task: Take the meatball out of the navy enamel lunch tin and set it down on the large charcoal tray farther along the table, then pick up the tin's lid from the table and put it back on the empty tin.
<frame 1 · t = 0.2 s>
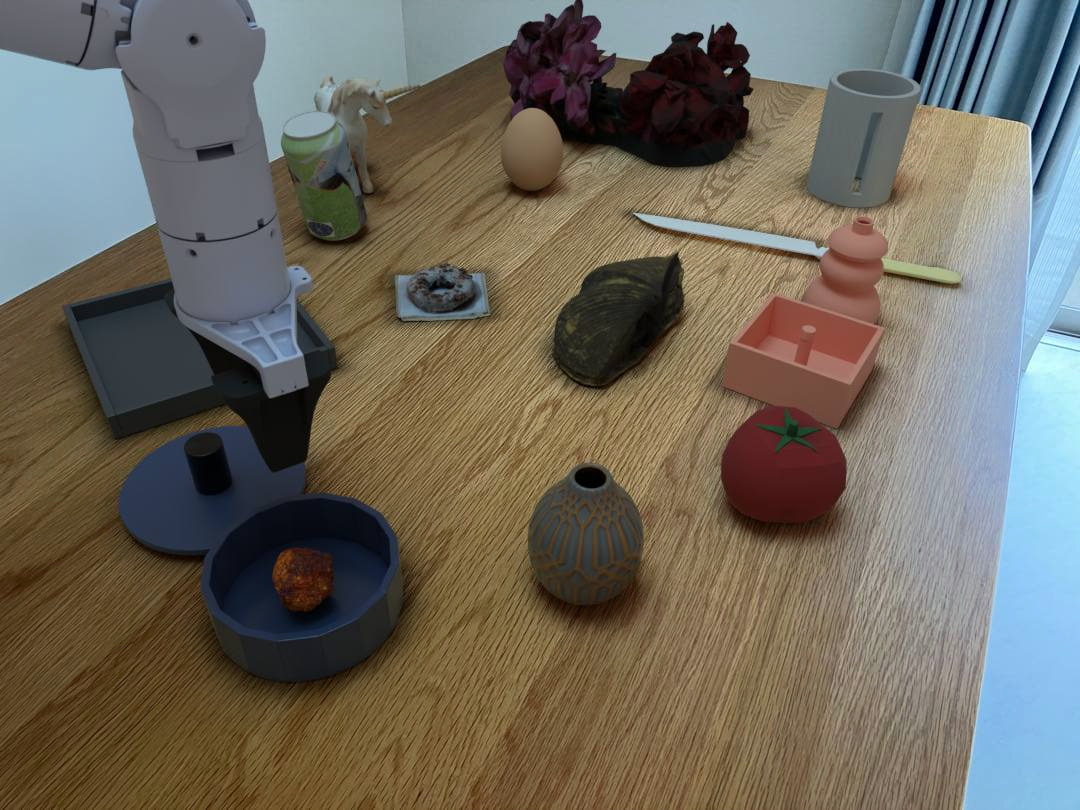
hand: (264, 425, 52), 9 cm above the table, tool pointing down, fingers open, 7 cm apart
unicorn figurine: (377, 183, 99), on the table
knife: (786, 249, 90), on the table
meatball: (310, 601, 53), resting on tin
tray: (200, 346, 74), on the table
seashell: (615, 335, 77), on the table
vase: (582, 580, 55), on the table
donut: (442, 297, 81), on the table
tomato: (769, 502, 61), on the table
tin: (310, 602, 53), on the table
egg: (531, 190, 99), on the table
beverage can: (333, 235, 90), on the table
tin lid: (215, 488, 60), point 1 cm above the table
cup: (847, 191, 101), on the table
pottery: (815, 354, 75), on the table
flower arrangement: (618, 135, 112), on the table
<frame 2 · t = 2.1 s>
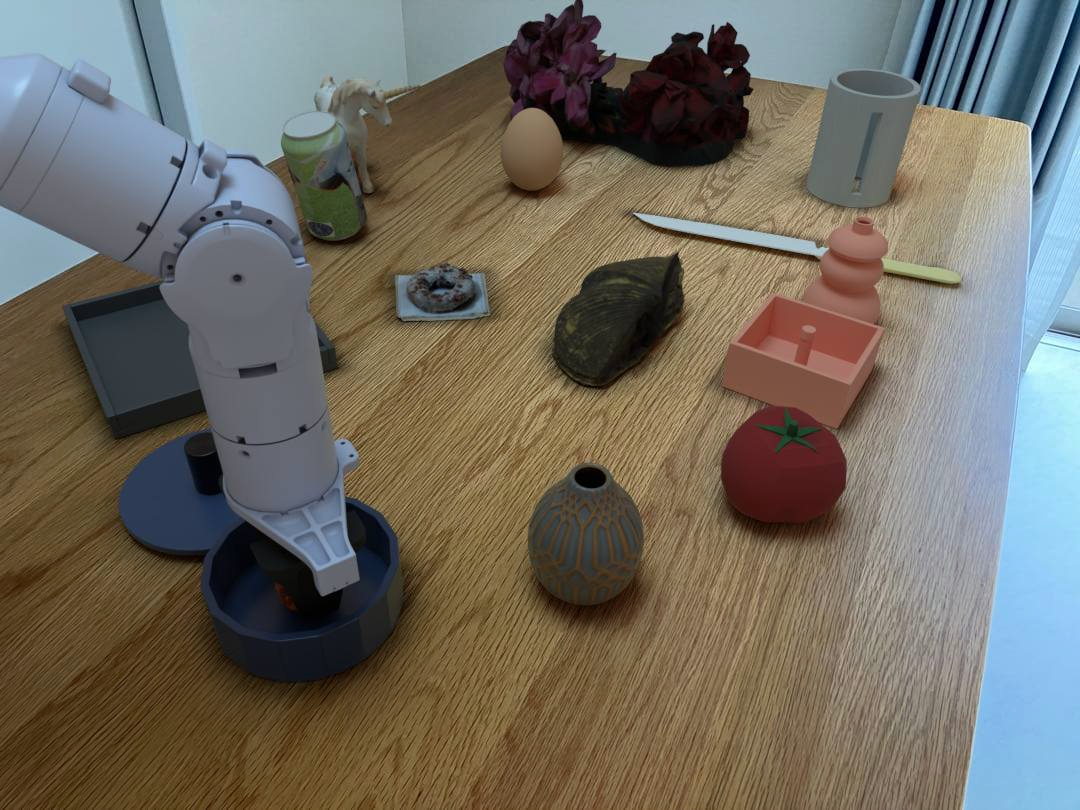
hand: (307, 587, 52), 1 cm above the table, tool pointing down, fingers closed on meatball, 4 cm apart
meatball: (310, 601, 53), resting on tin, touching gripper
everything else where it was.
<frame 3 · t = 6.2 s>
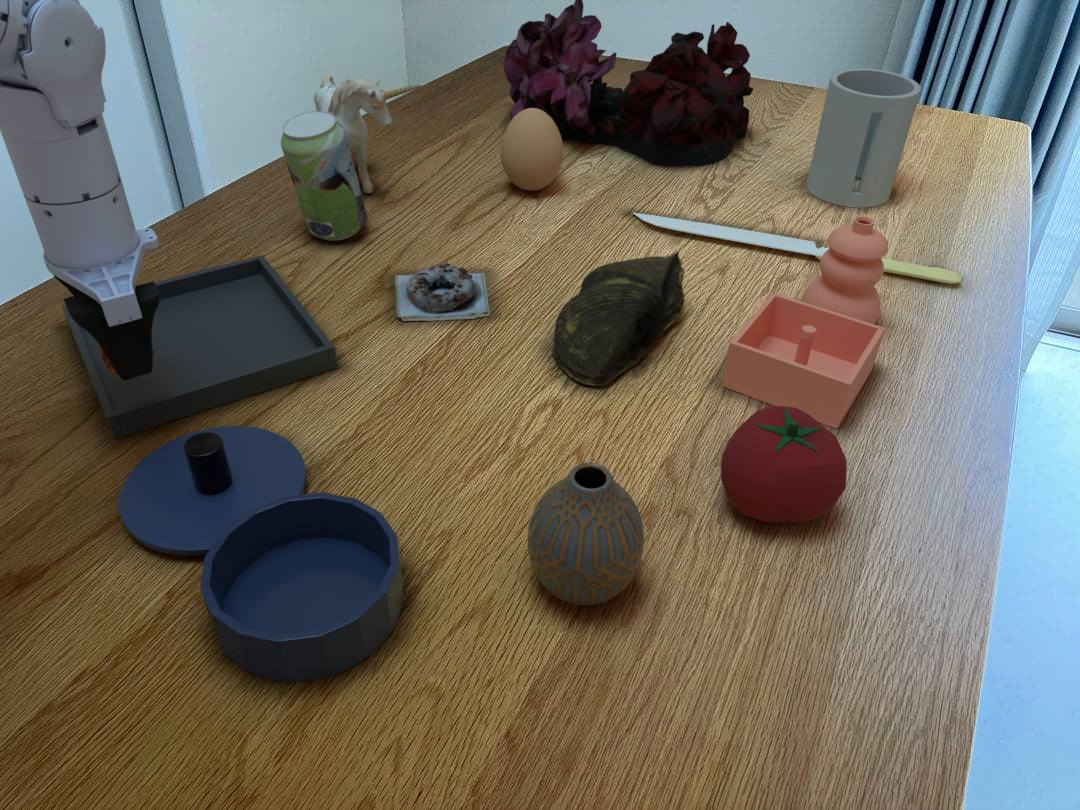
hand: (129, 359, 65), 4 cm above the table, tool pointing down, fingers closed on meatball, 4 cm apart
meatball: (135, 373, 66), point 3 cm above the table, touching gripper
everything else where it was.
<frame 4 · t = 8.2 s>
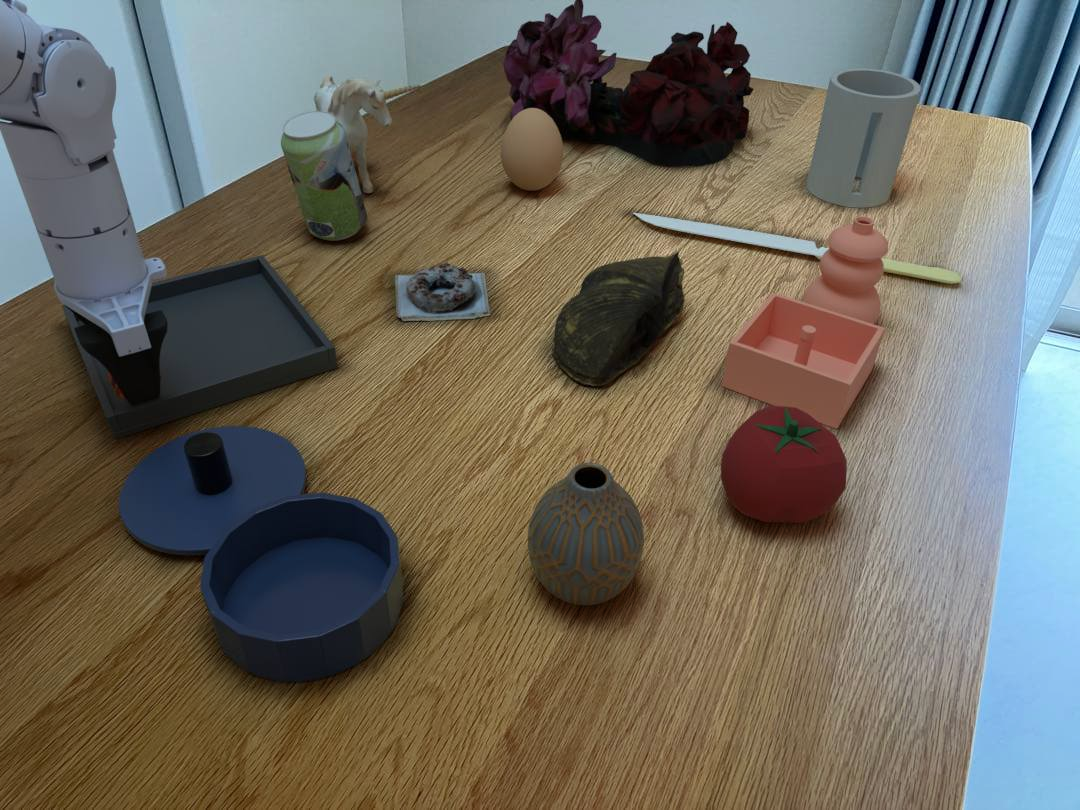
hand: (137, 384, 66), 2 cm above the table, tool pointing down, fingers closed on meatball, 4 cm apart
meatball: (143, 398, 67), point 1 cm above the table, touching gripper
everything else where it was.
when the fingers open (3 cm above the table, at t = 10.4 s): meatball stays where it is, resting on tray.
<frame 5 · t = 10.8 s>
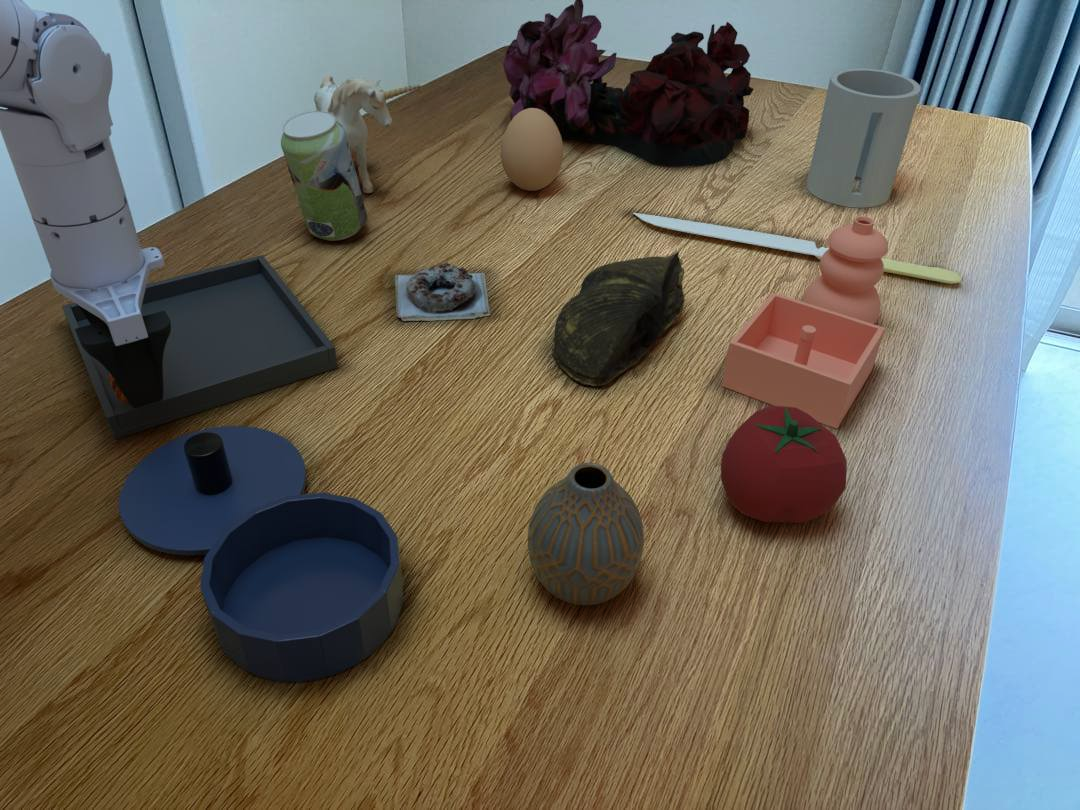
hand: (135, 375, 66), 3 cm above the table, tool pointing down, fingers open, 7 cm apart
meatball: (144, 401, 67), resting on tray
everything else where it was.
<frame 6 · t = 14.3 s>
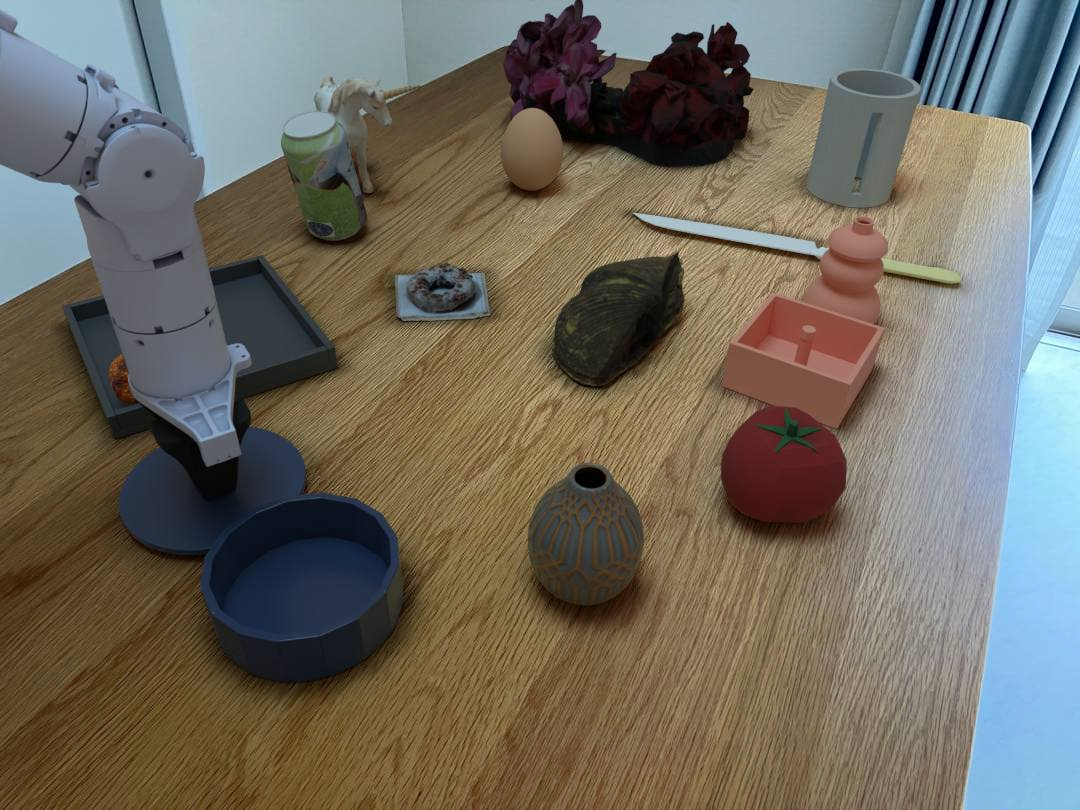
hand: (213, 479, 59), 1 cm above the table, tool pointing down, fingers closed on tin lid, 2 cm apart
tin lid: (215, 488, 60), point 1 cm above the table, touching gripper
everything else where it was.
when the fingers open (5 cm above the table, at t = 17.9 s): tin lid stays where it is, resting on tin.
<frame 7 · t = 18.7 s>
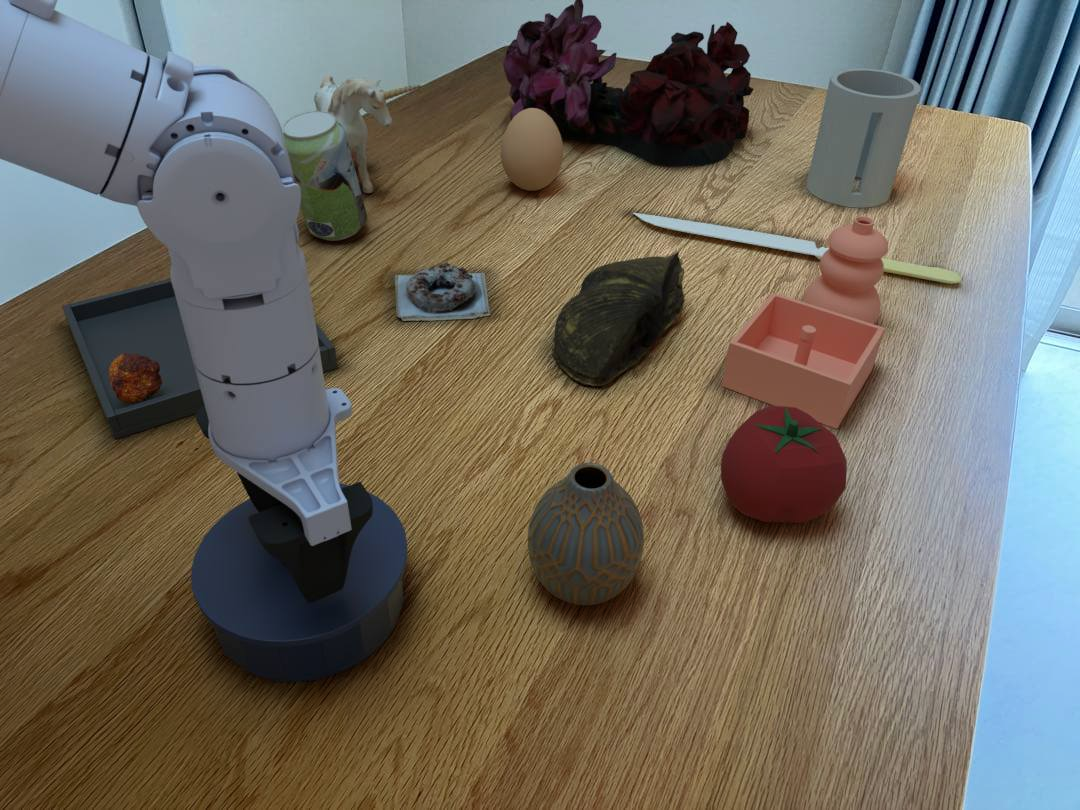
hand: (298, 546, 50), 5 cm above the table, tool pointing down, fingers open, 7 cm apart
tin lid: (302, 559, 51), point 4 cm above the table, touching tin
everything else where it was.
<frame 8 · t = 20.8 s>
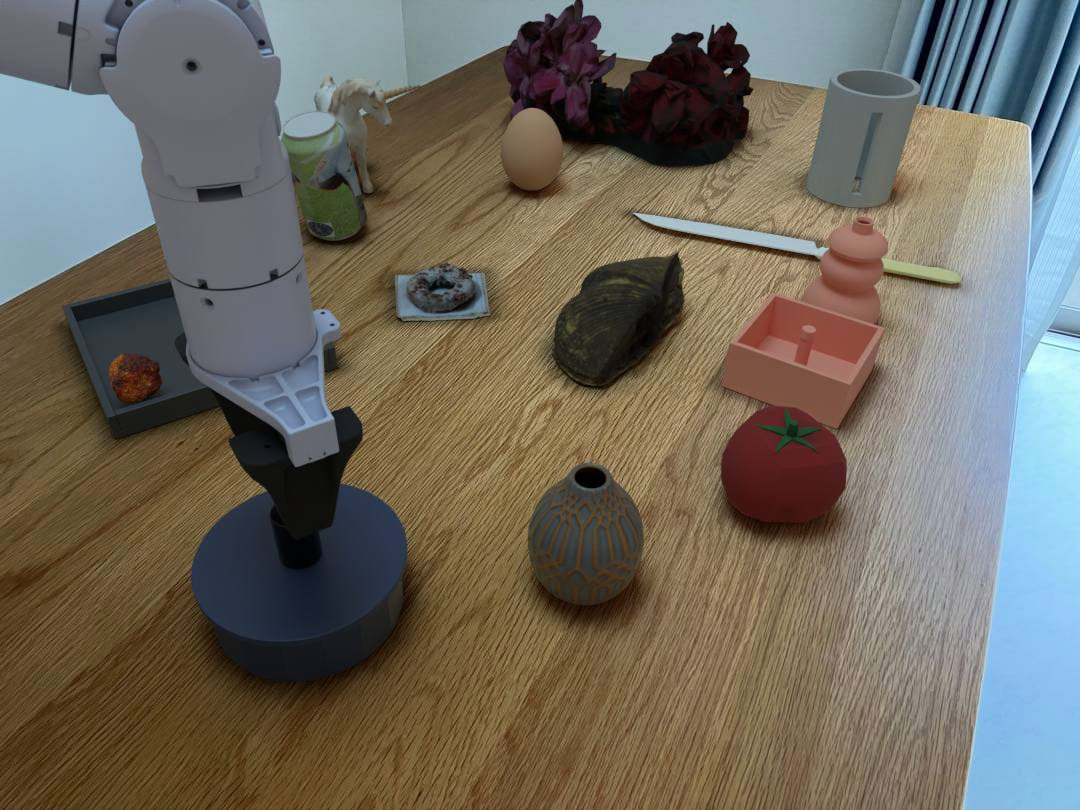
hand: (285, 483, 47), 10 cm above the table, tool pointing down, fingers open, 7 cm apart
nothing on the table moved.
at the end: meatball inside the target area on the tray (8.1 cm from its centre), point 0.4 cm above the tray's base; tin lid 0.0 cm off-centre on the tin, point 3.8 cm above the tin's base; tin lid tilted 0° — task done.
